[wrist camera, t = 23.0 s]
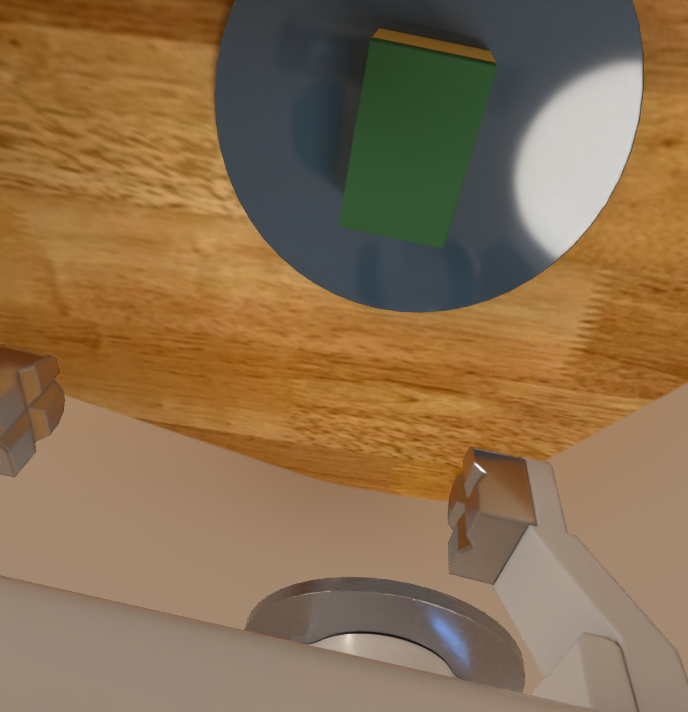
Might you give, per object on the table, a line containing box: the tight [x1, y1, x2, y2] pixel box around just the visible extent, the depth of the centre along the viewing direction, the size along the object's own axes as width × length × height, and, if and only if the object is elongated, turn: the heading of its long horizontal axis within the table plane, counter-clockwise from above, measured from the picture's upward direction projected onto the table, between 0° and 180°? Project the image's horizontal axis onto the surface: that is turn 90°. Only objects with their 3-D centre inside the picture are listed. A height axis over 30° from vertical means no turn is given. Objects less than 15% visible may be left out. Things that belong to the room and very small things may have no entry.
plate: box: [215, 0, 644, 313], centre depth 24 cm, size 18×18×1 cm
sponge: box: [339, 28, 497, 249], centre depth 22 cm, size 7×4×4 cm, turn 171°
